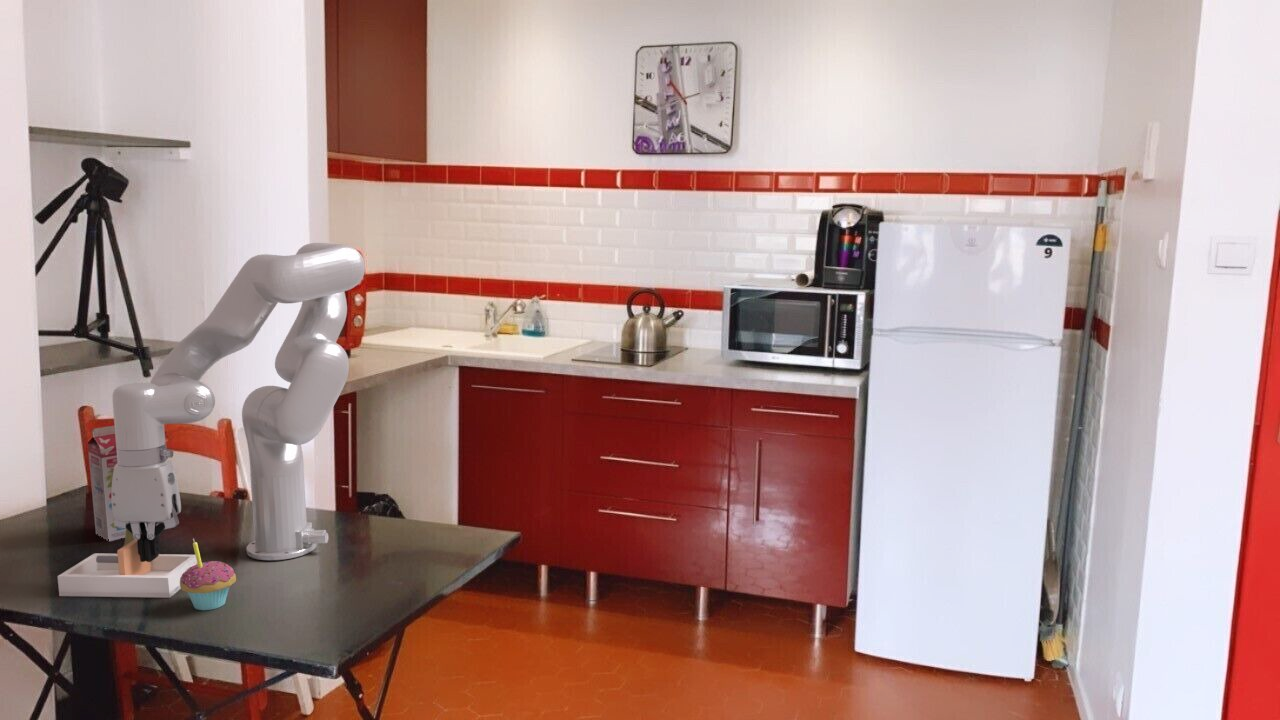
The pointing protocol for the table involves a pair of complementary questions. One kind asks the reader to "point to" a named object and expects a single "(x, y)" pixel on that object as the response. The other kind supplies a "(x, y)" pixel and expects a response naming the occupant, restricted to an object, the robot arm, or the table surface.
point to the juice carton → (103, 481)
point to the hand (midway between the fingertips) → (149, 559)
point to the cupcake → (207, 582)
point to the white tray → (125, 578)
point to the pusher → (127, 560)
